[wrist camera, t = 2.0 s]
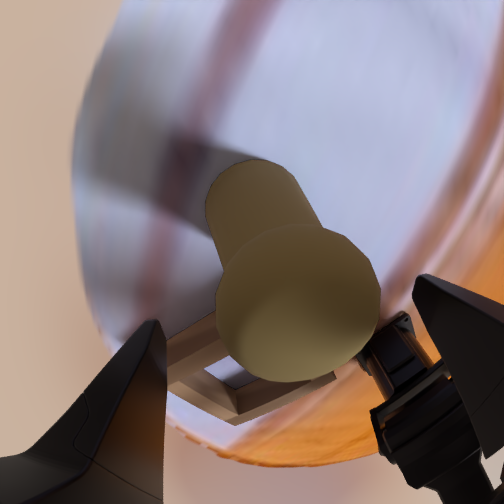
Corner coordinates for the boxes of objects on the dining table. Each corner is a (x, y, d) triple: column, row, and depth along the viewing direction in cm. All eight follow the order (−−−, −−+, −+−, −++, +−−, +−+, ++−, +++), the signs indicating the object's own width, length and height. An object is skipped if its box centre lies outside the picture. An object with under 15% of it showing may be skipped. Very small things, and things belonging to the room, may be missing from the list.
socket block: (326, 354, 24) (336, 378, 21) (232, 402, 26) (235, 426, 23) (262, 280, 19) (270, 308, 16) (151, 349, 21) (147, 377, 18)
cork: (315, 171, 16) (443, 262, 6) (289, 259, 19) (356, 398, 9) (214, 150, 15) (220, 224, 5) (198, 247, 17) (192, 405, 8)
